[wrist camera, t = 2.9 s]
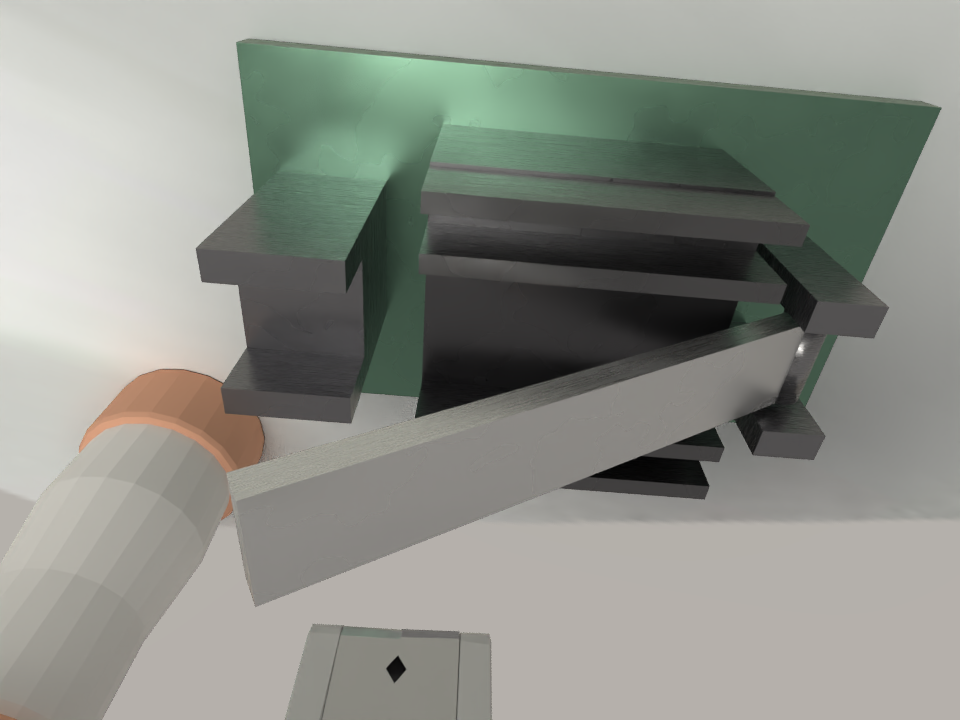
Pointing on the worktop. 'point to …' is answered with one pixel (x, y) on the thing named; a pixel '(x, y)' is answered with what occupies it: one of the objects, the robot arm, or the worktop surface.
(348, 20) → the worktop surface
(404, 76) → the cooling board
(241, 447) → the pepper shaker
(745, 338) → the steel strap
